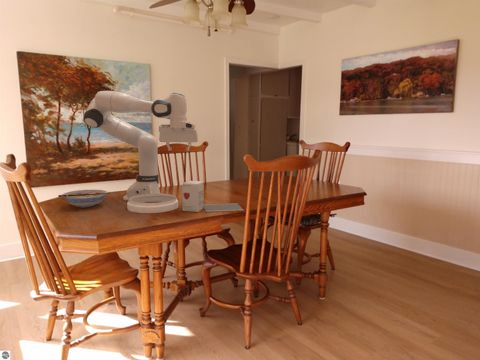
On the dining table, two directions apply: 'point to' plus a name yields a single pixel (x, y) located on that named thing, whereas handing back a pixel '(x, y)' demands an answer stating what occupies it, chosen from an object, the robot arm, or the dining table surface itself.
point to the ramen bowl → (84, 197)
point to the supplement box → (192, 196)
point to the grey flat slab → (222, 207)
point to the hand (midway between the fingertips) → (178, 150)
